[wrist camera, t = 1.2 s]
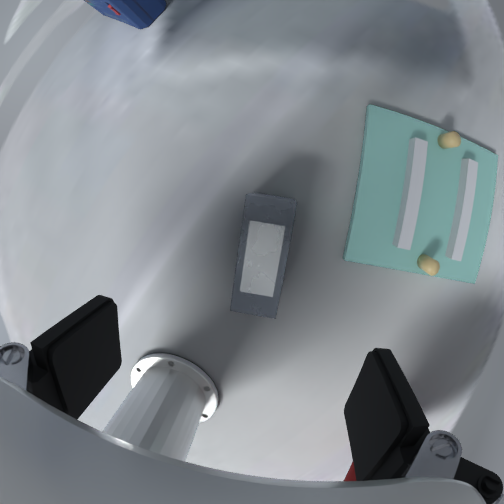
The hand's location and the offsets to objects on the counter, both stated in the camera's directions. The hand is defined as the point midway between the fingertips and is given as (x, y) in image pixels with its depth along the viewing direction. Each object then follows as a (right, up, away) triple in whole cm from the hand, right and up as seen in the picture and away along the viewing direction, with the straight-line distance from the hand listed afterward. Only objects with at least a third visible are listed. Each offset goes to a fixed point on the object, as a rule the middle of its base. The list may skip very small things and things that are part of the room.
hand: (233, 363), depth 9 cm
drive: (+2, +5, +20) cm, 20 cm away
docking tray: (+20, +9, +16) cm, 27 cm away
